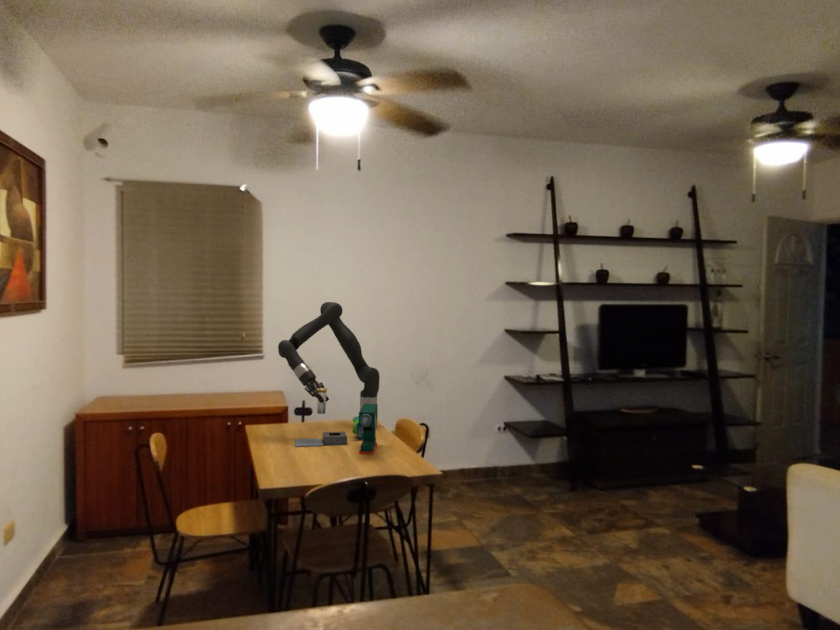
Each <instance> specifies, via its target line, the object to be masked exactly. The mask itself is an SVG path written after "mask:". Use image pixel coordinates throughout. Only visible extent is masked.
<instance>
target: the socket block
mask: <svg viewBox="0 0 840 630" xmlns="http://www.w3.org/2000/svg"><path fill="white" fill-rule="evenodd" d="M321 434H322V438H321V439H322V443H323V446H345V445H346V446H347V445H348V435H347V434H346V431H323V432H322V433H321Z"/></svg>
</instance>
